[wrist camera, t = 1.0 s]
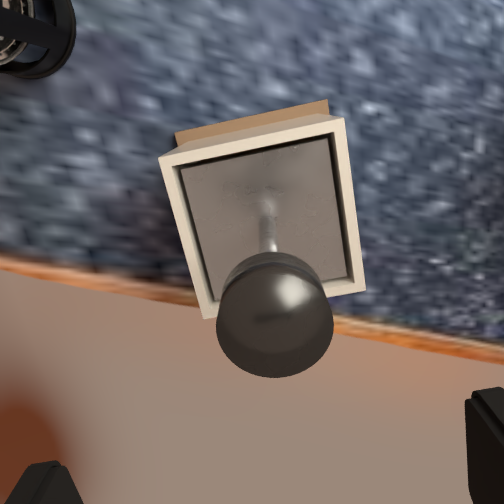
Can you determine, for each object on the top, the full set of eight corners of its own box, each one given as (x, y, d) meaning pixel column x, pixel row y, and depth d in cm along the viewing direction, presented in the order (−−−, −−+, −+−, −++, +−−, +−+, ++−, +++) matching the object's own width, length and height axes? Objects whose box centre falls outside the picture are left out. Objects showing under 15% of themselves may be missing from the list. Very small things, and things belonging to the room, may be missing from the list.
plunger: (325, 137, 27) (394, 173, 13) (344, 271, 31) (416, 412, 17) (182, 167, 28) (108, 230, 14) (216, 295, 31) (182, 448, 18)
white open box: (325, 99, 37) (357, 97, 25) (346, 246, 42) (381, 305, 30) (176, 131, 39) (138, 145, 26) (212, 271, 43) (194, 338, 31)
